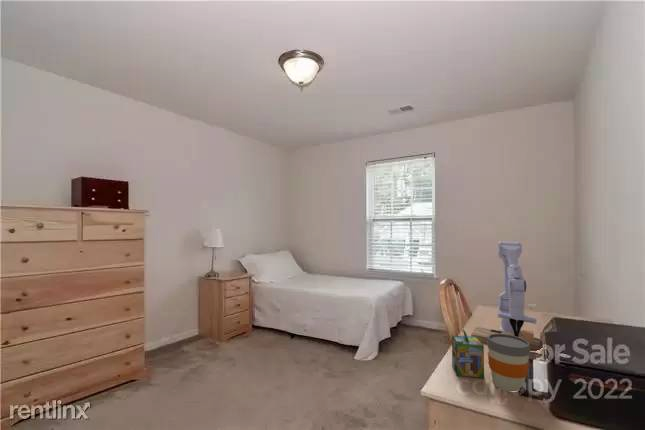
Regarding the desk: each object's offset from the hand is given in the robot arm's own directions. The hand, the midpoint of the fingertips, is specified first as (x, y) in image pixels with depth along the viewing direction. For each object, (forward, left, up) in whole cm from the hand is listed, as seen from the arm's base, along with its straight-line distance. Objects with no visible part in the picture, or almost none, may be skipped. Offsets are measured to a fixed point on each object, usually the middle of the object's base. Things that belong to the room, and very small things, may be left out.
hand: (516, 336), depth 141 cm
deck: (0, -4, -3) cm, 5 cm away
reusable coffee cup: (+42, +1, -4) cm, 42 cm away
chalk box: (+40, -12, -4) cm, 42 cm away
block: (0, +4, -1) cm, 4 cm away
